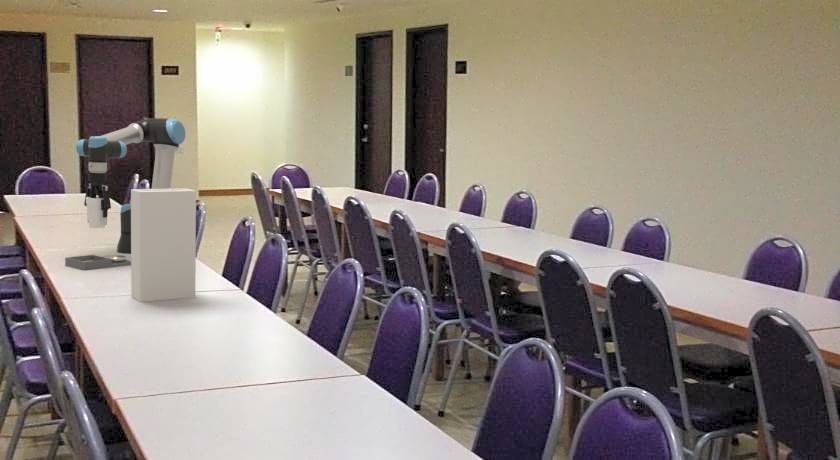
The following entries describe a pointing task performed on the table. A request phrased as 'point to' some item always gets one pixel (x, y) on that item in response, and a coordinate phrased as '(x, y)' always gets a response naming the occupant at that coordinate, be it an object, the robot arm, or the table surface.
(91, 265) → the dark gray tray
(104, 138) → the robot arm
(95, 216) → the foam cup
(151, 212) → the storage box
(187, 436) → the table surface
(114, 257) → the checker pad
